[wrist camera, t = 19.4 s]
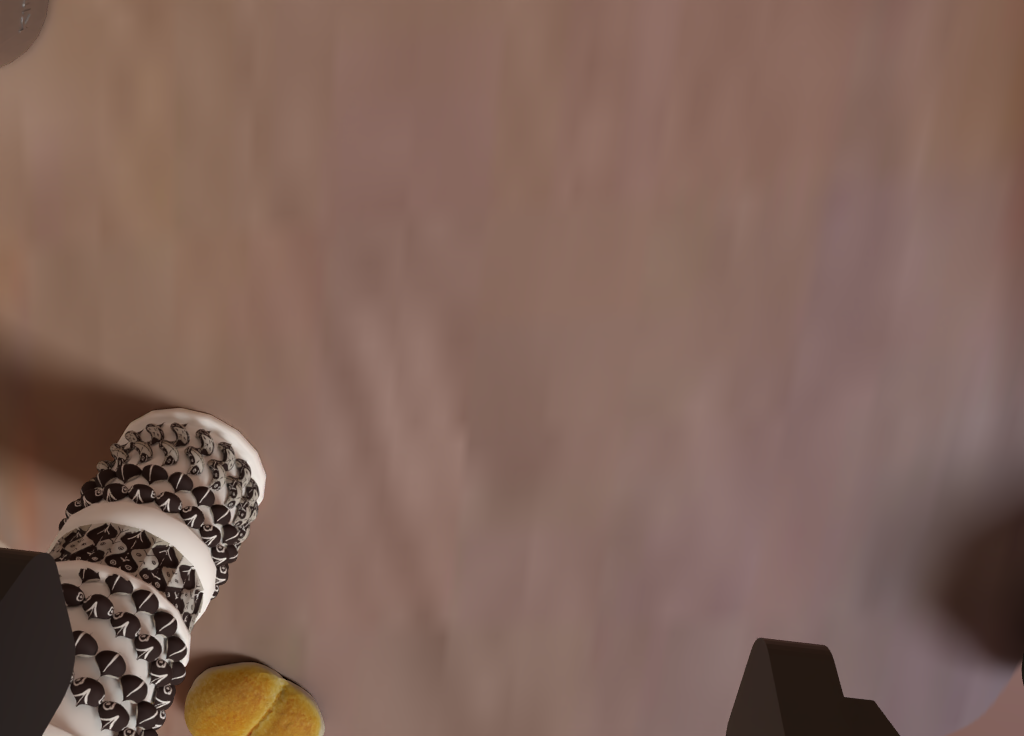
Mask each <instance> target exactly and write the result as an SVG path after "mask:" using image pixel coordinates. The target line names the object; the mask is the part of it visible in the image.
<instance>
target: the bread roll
mask: <svg viewBox="0 0 1024 736" xmlns="http://www.w3.org/2000/svg"><path fill="white" fill-rule="evenodd" d="M184 715H185V721H186V724H187V727H188V729H189V731H190V732H191V734H192V735H193V736H323V734H324V731H325V725H324V721H323V718H322V715H321V712H320V710H319V708H318V706H317V704H316V702H315V700H314V698H313V697H312V696H311V695H310V694H309V693H308V692H307V691H305V690H304V689H303V688H301V687H300V686H298V685H296V684H294V683H292V682H291V681H288V680H285V679H284V678H283V677H282V676H281V675H280V674H279V673H278V672H276V671H275V670H273V669H271V668H269V667H267V666H265V665H262V664H259V663H256V662H241V663H234V664H229V665H223V666H217V667H211V668H208V669H207V670H205V671H204V672H203V673H202V674H200V675H199V676H198V677H197V678H196V679H195V681H194V682H193V684H192V687H191V688H190V690H189V692H188V694H187V697H186V701H185V712H184Z"/></svg>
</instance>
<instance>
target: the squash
mask: <svg viewBox="0 0 1024 736" xmlns="http://www.w3.org/2000/svg"><path fill="white" fill-rule="evenodd" d="M1022 679H1023V684H1024V655H1023V661H1022Z"/></svg>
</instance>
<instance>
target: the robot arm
mask: <svg viewBox="0 0 1024 736" xmlns="http://www.w3.org/2000/svg"><path fill="white" fill-rule="evenodd" d="M48 1H49V0H0V68H1V67H3V66H5V65H7V64H9V63H11V62H12V61H14V60H15V59H16V58H18V57H19V56H21V55H22V54H23V53H25V52H26V51H27V50H28V49H29V47H30V46H31V45H32V43H33V42H34V41H35V39H36V38H37V37H38V36H39V33H40V31H41V28H42V26H43V23H44V21H45V18H46V15H47V8H48ZM74 663H75V641H74V637H73V632H72V628H71V624H70V620H69V615H68V611H67V607H66V603H65V598H64V594H63V590H62V586H61V581H60V577H59V573H58V568H57V565H56V562H55V560H54V558H53V557H52V556H51V555H50V554H48V553H42V552H34V551H25V550H16V549H8V548H0V736H42V735H43V733H44V732H45V730H46V728H47V726H48V725H49V723H50V721H51V719H52V718H53V716H54V714H55V712H56V711H57V709H58V707H59V705H60V704H61V702H62V700H63V698H64V696H65V694H66V692H67V689H68V687H69V684H70V681H71V677H72V674H73V669H74ZM726 736H900V735H899V734H898V732H897V731H896V730H895V728H894V727H893V726H892V724H891V723H890V722H889V720H888V719H887V718H886V716H885V715H884V714H883V712H882V711H881V710H880V708H879V707H878V706H877V704H876V703H875V702H874V701H873V700H864V699H856V698H847V697H844V696H843V692H842V688H841V685H840V681H839V677H838V674H837V670H836V666H835V663H834V659H833V656H832V654H831V652H830V650H829V649H828V647H826V646H825V645H818V644H809V643H801V642H792V641H783V640H775V639H766V638H758V639H757V640H756V641H755V643H754V644H753V647H752V650H751V653H750V656H749V659H748V662H747V665H746V668H745V672H744V675H743V678H742V681H741V684H740V687H739V690H738V693H737V697H736V700H735V703H734V706H733V709H732V712H731V715H730V718H729V722H728V726H727V731H726Z"/></svg>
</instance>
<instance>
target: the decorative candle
mask: <svg viewBox="0 0 1024 736" xmlns="http://www.w3.org/2000/svg"><path fill="white" fill-rule="evenodd" d="M110 451H111V453H112V456H113V457H114V461H113V462H111V461H108V460H105V461H100V462H99V463H98V464H97V470H98V471H99V473H98V474H97V475H96V477H95V478H92V479H91V480H90V481H89V482H86V483H85V484H84V485H83V486H82V488H81V498H80V499H77V500H76V501H74V502H71V503H70V504H69V505H68V507H67V509H66V517H67V518H65V519H63V520H62V521H61V522H60V524H59V533H58V534H57V536H56V538H55V539H54V541H53V542H52V544H51V546H50V547H49V549H48V551H47V552H46V553H48V554H50V555H51V556H52V557H53V558H54V560H55V562H56V565H57V568H58V573H59V577H60V581H61V586H62V590H63V594H64V598H65V603H66V607H67V611H68V615H69V620H70V624H71V628H72V632H73V637H74V641H75V663H74V669H73V674H72V677H71V681H70V684H69V687H68V689H67V692H66V694H65V696H64V698H63V700H62V702H61V704H60V705H59V707H58V709H57V711H56V712H55V714H54V716H53V718H52V719H51V721H50V723H49V725H48V726H47V728H46V730H45V732H44V733H43V735H42V736H158V734H157V733H156V731H155V730H157V729H159V728H160V727H161V726H162V725H163V723H164V722H165V719H166V713H165V711H164V710H166V709H168V708H169V707H170V706H171V704H172V703H173V699H174V696H175V692H176V689H175V686H174V685H178V684H180V683H181V682H182V681H183V680H184V678H185V675H186V670H185V666H186V665H187V663H188V661H189V653H190V640H191V635H190V633H191V631H192V629H193V627H194V624H195V623H196V622H197V620H198V619H199V618H200V617H201V615H202V614H203V613H204V612H205V610H206V608H207V606H208V604H209V602H210V600H212V599H214V598H215V597H216V596H217V594H218V592H219V585H222V584H224V583H226V581H227V580H228V569H229V566H228V563H232V562H234V561H236V559H237V556H238V550H239V548H240V546H241V542H243V541H244V540H246V539H247V537H248V535H249V532H250V522H252V521H254V520H255V519H256V517H257V514H258V505H259V504H260V503H261V502H262V500H263V498H264V490H265V482H266V473H265V471H264V468H263V465H262V463H261V460H260V457H259V454H258V452H257V451H256V450H255V448H254V447H253V446H252V445H251V444H250V443H249V442H248V441H247V440H246V438H245V437H244V436H243V435H242V434H241V433H240V432H239V431H238V430H237V429H235V428H233V427H231V426H230V425H228V424H226V423H225V422H223V421H221V420H219V419H218V418H216V417H214V416H212V415H210V414H206V413H201V412H197V411H193V410H189V409H184V408H173V409H162V410H152V411H150V412H149V413H147V414H145V415H143V416H141V417H140V418H138V419H136V420H134V421H132V422H130V424H129V425H128V427H127V428H126V430H125V432H124V433H123V435H122V436H121V438H120V440H119V441H118V443H114V444H112V445H111V447H110ZM115 461H116V462H115Z"/></svg>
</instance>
